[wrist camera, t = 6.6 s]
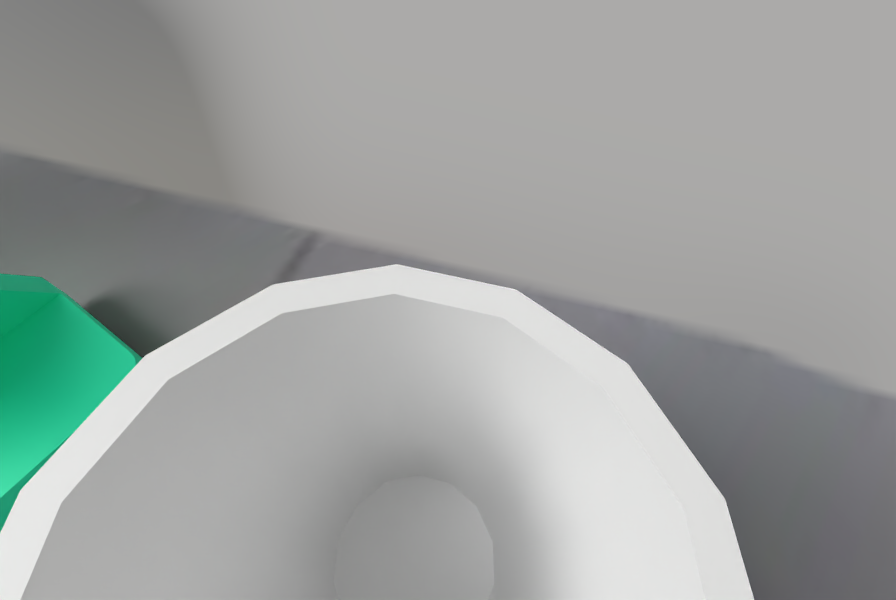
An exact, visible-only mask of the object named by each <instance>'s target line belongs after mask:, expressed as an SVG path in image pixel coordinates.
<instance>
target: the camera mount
mask: <svg viewBox="0 0 896 600" xmlns="http://www.w3.org/2000/svg"><path fill="white" fill-rule="evenodd" d="M141 359H142V357H141V356H139V355H138V354H137V353H136V352H135V351H133V350H132V349H131V348H130V347H129V346H127V345H126V344H125V343H124V342H123V341H122V340H120V339H119V338H118V337H117V336H116V335H114V334H113V333H112V332H111V331H110V330H108V329H107V328H106V327H105V326H104V325H102V324H101V323H100V322H99V321H98V320H97V319H95V318H94V317H93V316H92V315H91V314H89V313H88V312H87V311H86V310H85V309H83V308H82V307H81V306H80V305H79V304H78V303H76V302H75V301H74V300H73V299H72V298H70V297H69V296H68V295H67V294H65V293H64V292H63V291H61V290H60V289H58V288H57V287H55V286H54V285H52V284H51V283H49V282H48V281H46V280H45V279H43V278H42V277H34V276H22V275H11V274H0V532H1V530H2V528H3V526H4V524H5V522H6V520H7V518H8V515H9V513H10V511H11V509H12V507H13V505H14V503H15V501H16V499H17V496H18V494H19V492H20V490H21V489H22V488H23V487H24V486H25V485H26V484H27V483H28V482H29V480H30V479H31V478H32V477H33V476H34V475H35V474H36V473H37V472H38V471H39V470H40V469H41V467H42V466H43V465H44V464H45V463H46V462H47V461H48V460H49V459H50V458H51V457H52V456H53V455H54V453H55V452H56V451H57V450H58V449H59V448H60V447H61V446H62V445H63V444H64V443H65V442H66V440H67V439H68V438H69V437H70V436H71V435H72V434H73V433H74V432H75V431H76V430H77V429H78V428H79V426H80V425H81V424H82V423H83V422H84V421H85V420H86V419H87V418H88V417H89V416H90V415H91V413H92V412H93V411H94V410H95V409H96V408H97V407H98V406H99V405H100V404H101V403H102V402H103V401H104V399H105V398H106V397H107V396H108V395H109V394H110V393H111V392H112V391H113V390H114V389H115V388H116V386H117V385H118V384H119V383H120V382H121V381H122V380H123V379H124V378H125V377H126V376H127V375H128V374H129V372H130V371H131V370H132V369H133V368H134V367H135V366H136V365H137V364H138V363H139V362H140V361H141Z"/></svg>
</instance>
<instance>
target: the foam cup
mask: <svg viewBox="0 0 896 600" xmlns="http://www.w3.org/2000/svg"><path fill="white" fill-rule="evenodd" d="M0 600H754V597H753V594H752V590H751V587H750V583H749V580H748V576H747V573H746V569H745V566H744V562H743V559H742V556H741V552H740V549H739V545H738V542H737V538H736V535H735V531H734V528H733V524H732V521H731V518H730V514H729V511H728V507H727V504H726V500H725V498H724V497H723V495H722V494H721V493H720V491H719V490H718V488H717V487H716V486H715V484H714V483H713V482H712V480H711V479H710V477H709V476H708V475H707V473H706V472H705V470H704V469H703V468H702V466H701V465H700V463H699V462H698V461H697V459H696V458H695V456H694V455H693V454H692V452H691V451H690V449H689V448H688V447H687V445H686V444H685V443H684V441H683V440H682V438H681V437H680V436H679V434H678V433H677V431H676V430H675V429H674V427H673V426H672V424H671V423H670V422H669V420H668V419H667V417H666V416H665V415H664V413H663V412H662V411H661V409H660V408H659V406H658V405H657V404H656V402H655V401H654V399H653V398H652V397H651V395H650V394H649V392H648V391H647V390H646V388H645V387H644V385H643V384H642V383H641V381H640V380H639V379H638V377H637V376H636V374H635V373H634V372H633V370H632V369H631V367H630V366H629V365H628V363H626V362H625V361H623V360H621V359H620V358H618V357H617V356H615V355H614V354H612V353H611V352H609V351H608V350H606V349H605V348H603V347H602V346H600V345H599V344H597V343H596V342H594V341H593V340H591V339H590V338H588V337H587V336H585V335H584V334H582V333H581V332H579V331H578V330H576V329H575V328H573V327H572V326H570V325H569V324H567V323H566V322H564V321H563V320H561V319H560V318H558V317H557V316H555V315H554V314H552V313H551V312H549V311H548V310H546V309H545V308H543V307H542V306H540V305H539V304H537V303H536V302H534V301H533V300H531V299H530V298H528V297H527V296H525V295H524V294H522V293H521V292H519V291H518V290H516V289H512V288H507V287H502V286H497V285H493V284H488V283H483V282H479V281H474V280H469V279H464V278H460V277H455V276H450V275H445V274H441V273H436V272H431V271H427V270H422V269H417V268H412V267H408V266H403V265H398V264H395V265H389V266H383V267H377V268H371V269H364V270H358V271H352V272H346V273H340V274H334V275H328V276H322V277H316V278H310V279H303V280H297V281H291V282H285V283H279V284H273V285H271V286H269V287H267V288H266V289H264V290H262V291H260V292H258V293H257V294H255V295H253V296H251V297H249V298H248V299H246V300H244V301H242V302H240V303H239V304H237V305H235V306H233V307H231V308H230V309H228V310H226V311H224V312H222V313H221V314H219V315H217V316H215V317H213V318H212V319H210V320H208V321H206V322H204V323H203V324H201V325H199V326H197V327H195V328H194V329H192V330H190V331H188V332H186V333H185V334H183V335H181V336H179V337H177V338H176V339H174V340H172V341H170V342H168V343H167V344H165V345H163V346H161V347H159V348H158V349H156V350H154V351H152V352H150V353H149V354H147V355H145V356H144V357H143V358H142V359H141V361H140V362H139V363H138V364H137V365H136V366H135V367H134V368H133V369H132V370H131V371H130V372H129V374H128V375H127V376H126V377H125V378H124V379H123V380H122V381H121V382H120V383H119V384H118V385H117V386H116V388H115V389H114V390H113V391H112V392H111V393H110V394H109V395H108V396H107V397H106V398H105V399H104V401H103V402H102V403H101V404H100V405H99V406H98V407H97V408H96V409H95V410H94V411H93V412H92V413H91V415H90V416H89V417H88V418H87V419H86V420H85V421H84V422H83V423H82V424H81V425H80V426H79V428H78V429H77V430H76V431H75V432H74V433H73V434H72V435H71V436H70V437H69V438H68V439H67V440H66V442H65V443H64V444H63V445H62V446H61V447H60V448H59V449H58V450H57V451H56V452H55V453H54V455H53V456H52V457H51V458H50V459H49V460H48V461H47V462H46V463H45V464H44V465H43V466H42V467H41V469H40V470H39V471H38V472H37V473H36V474H35V475H34V476H33V477H32V478H31V479H30V480H29V482H28V483H27V484H26V485H25V486H24V487H23V488H22V489H21V490H20V492H19V494H18V496H17V499H16V501H15V503H14V505H13V507H12V509H11V511H10V513H9V515H8V518H7V520H6V522H5V524H4V526H3V528H2V530H1V532H0Z"/></svg>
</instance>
